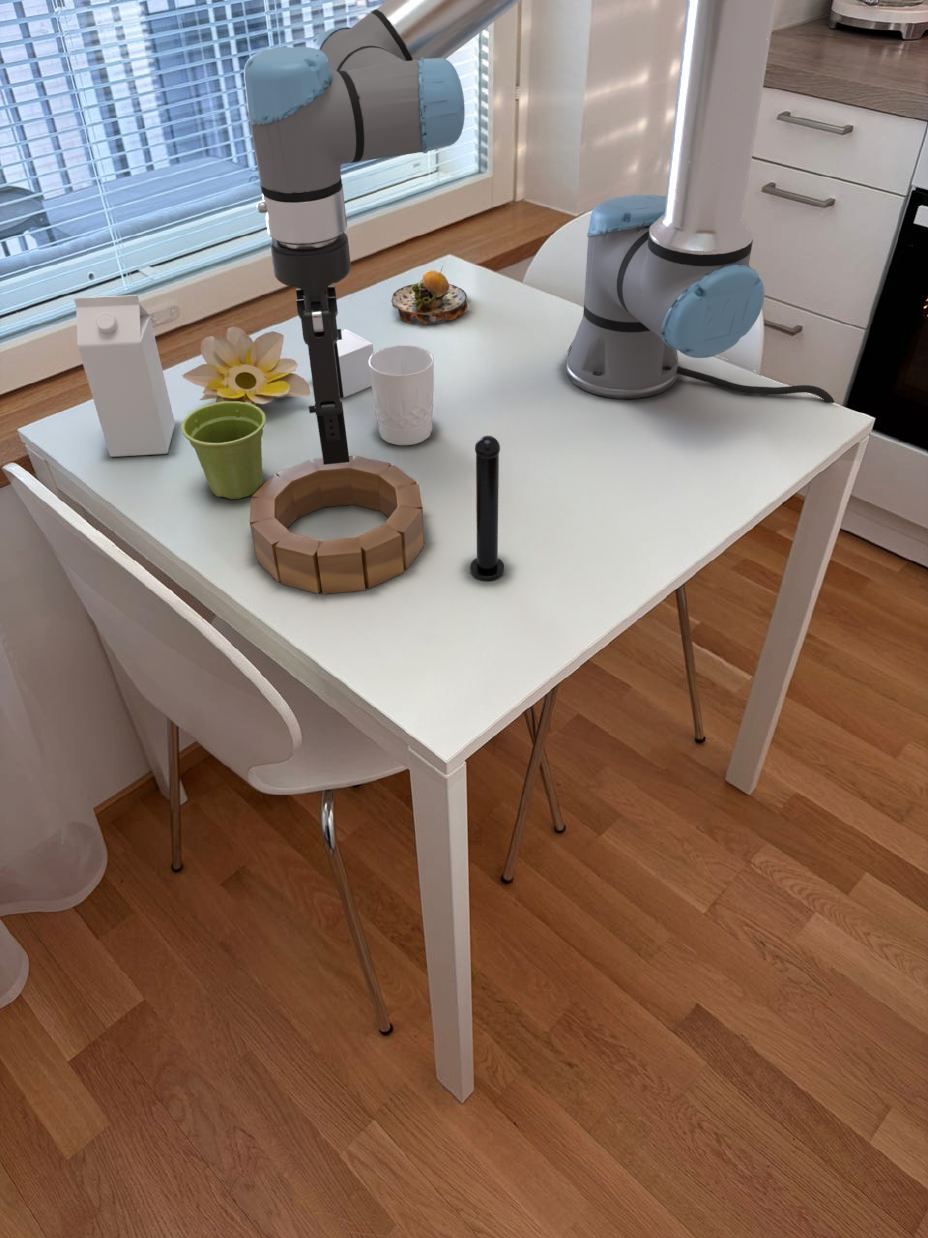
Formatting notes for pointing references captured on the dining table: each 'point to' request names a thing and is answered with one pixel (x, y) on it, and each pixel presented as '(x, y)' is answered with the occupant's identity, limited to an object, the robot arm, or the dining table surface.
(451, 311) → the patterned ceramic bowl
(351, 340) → the white cube
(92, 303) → the milk carton
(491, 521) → the peg
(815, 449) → the dining table surface
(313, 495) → the ring
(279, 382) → the decorative flower
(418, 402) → the white cup
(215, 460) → the plant pot
